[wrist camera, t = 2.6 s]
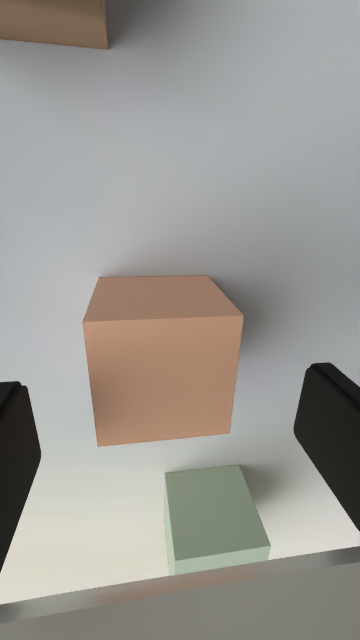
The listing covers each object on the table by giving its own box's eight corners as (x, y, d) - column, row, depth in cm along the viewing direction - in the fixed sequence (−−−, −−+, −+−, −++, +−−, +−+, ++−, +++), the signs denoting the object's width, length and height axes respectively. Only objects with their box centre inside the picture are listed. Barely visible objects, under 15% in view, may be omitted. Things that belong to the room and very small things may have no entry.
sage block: (164, 472, 19) (175, 561, 14) (238, 463, 20) (270, 545, 15) (164, 521, 21) (173, 612, 16) (231, 511, 22) (257, 596, 17)
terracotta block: (99, 276, 13) (82, 322, 9) (207, 274, 14) (243, 315, 9) (107, 370, 15) (97, 446, 11) (201, 364, 16) (229, 433, 11)
